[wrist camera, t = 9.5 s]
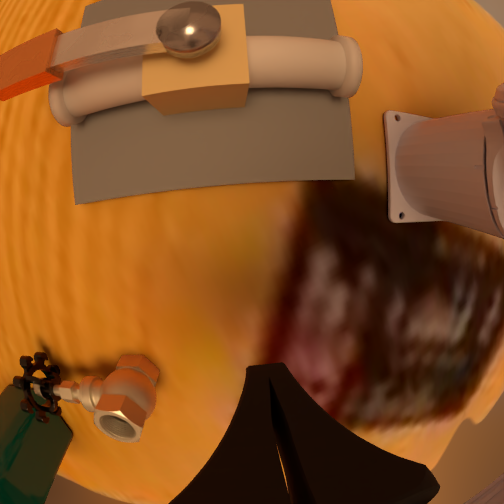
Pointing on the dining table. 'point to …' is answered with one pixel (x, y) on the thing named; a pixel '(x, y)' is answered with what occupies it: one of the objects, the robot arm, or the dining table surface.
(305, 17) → the pipe board
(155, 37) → the valve lever
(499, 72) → the dining table surface
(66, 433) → the pitcher
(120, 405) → the valve
